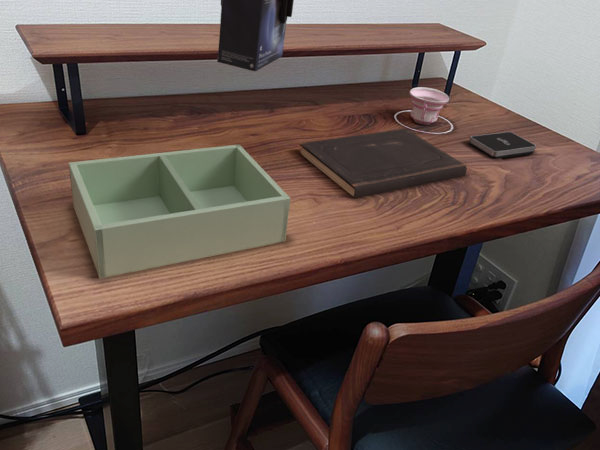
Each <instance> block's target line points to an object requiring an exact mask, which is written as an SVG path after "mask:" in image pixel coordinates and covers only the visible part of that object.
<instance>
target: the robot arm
mask: <svg viewBox="0 0 600 450" xmlns="http://www.w3.org/2000/svg"><path fill="white" fill-rule="evenodd" d="M294 2H295V0H282V3H281V12H280V22H281V23H283V24H285V22H286V23H287V21H288V18H292V15H293V11H294ZM221 5H222V0H220V6H221Z"/></svg>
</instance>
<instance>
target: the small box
mask: <svg viewBox="0 0 600 450" xmlns="http://www.w3.org/2000/svg"><path fill="white" fill-rule="evenodd" d="M281 3H282V0H222V5H221V4H220V7H221V9H220V21H219V22H220V25H219V36H218V49H217V59H216V61H217V63H219V64H223V65H228V66H232V67H236V68H240V69H243V70H247V71H250V72H258V71H259V70H261V69H263V68H264V67H267V66H268V65H270V64H271V63H273V62H275V61H277V60H279V59H280V58H283V53H284V45H285V38H286V31H287V30H286V28H287V21H286V22H285V24H283V23H281V22H280V12H281Z"/></svg>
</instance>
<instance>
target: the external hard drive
mask: <svg viewBox="0 0 600 450" xmlns="http://www.w3.org/2000/svg"><path fill="white" fill-rule="evenodd" d="M468 146H470V147H472V148H474V149H475V150H477V151H478V152H479V153H481V154H484V155H485V156H487V157H488V158H490V159H492V160H497V159H501V160H503V159H509V158H510V159H511V158H516V157H522V156H523V157H524V156H530V155H534V153H535V150H536V148H537V145H536V144H535V143H533V142H531V141H529V140H527V139H525V138H524V137H521V136H519V135H518V134H516V133H514V132H512V131H503V132H502V131H501V132H495V133H487V134H479V135H478V134H477V135H471V136H470V138H469V141H468Z"/></svg>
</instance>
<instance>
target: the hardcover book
mask: <svg viewBox="0 0 600 450" xmlns="http://www.w3.org/2000/svg"><path fill="white" fill-rule="evenodd" d="M299 146H300V147H301V149H300V155H302V156H303V157H304V158H305V159H307V160H308V161H309V162H310V163H311V164H312V165H314V166H315V167H316V168H318V169H319V170H320V171H321V172H322V173H323V174H325V176H327V177H328V178H330V179H331V180H332V181H333V182H334V183H336V184H337V185H338V186H339V187H341V188H342V189H343V190H344V191H346V193H348V194H349V195H350V196H352V197H353V199H354V200H355V199H359V198H364V197H368V196H374V195H378V194H383V193H387V192H388V193H389V192H393V191H398V190H403V189H407V188H412V187H418V186H422V185H423V186H424V185H428V184H432V183H437V182H441V181H446V180H451V179H456V178H461V177H465V176H466V173H467V169H468V168H467V165H466V164H465V163H463V162H461V161H460V160H458V159H456V158H455V157H454V156H451V155H450V154H448V153H446V152H445V151H443V150H441V149H440V148H438V147H436V146H435V145H433V144H432V143H430V142H429V141H427V140H425V139H423V137H420V136H418V135H417V134H415V133H414V132H412V131H411V130H408V129H407V128H401V129H393V130H388V131H381V132H373V133H366V134H358V135H357V134H356V135H350V136H344V137H336V138H328V139H322V140H315V141H308V142H307V141H306V142H299Z"/></svg>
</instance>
